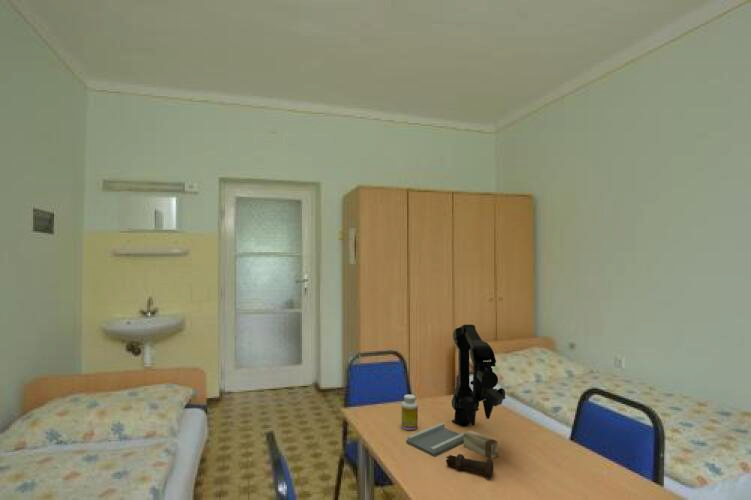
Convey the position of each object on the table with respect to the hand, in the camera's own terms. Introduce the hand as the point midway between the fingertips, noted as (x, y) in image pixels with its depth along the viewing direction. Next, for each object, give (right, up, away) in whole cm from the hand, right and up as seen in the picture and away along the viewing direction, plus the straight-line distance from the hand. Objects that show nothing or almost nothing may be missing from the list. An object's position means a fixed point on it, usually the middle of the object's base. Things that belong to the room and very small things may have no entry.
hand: (480, 421), depth 155 cm
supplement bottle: (-24, -11, +20) cm, 33 cm away
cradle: (-14, -10, +7) cm, 19 cm away
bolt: (-7, -11, -14) cm, 19 cm away
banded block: (0, -11, 0) cm, 11 cm away
